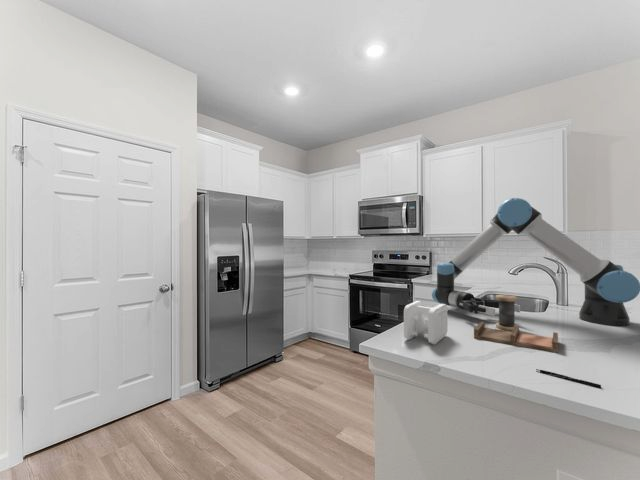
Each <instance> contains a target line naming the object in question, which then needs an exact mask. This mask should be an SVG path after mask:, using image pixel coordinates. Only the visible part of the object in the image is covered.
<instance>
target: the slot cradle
mask: <svg viewBox="0 0 640 480" xmlns="http://www.w3.org/2000/svg"><path fill="white" fill-rule="evenodd" d="M485 325H486V323H485V322H484V321H480V322H479V323H478V324H477V326H476V327H475V328H474V329H473V338H474V339H478V340H483V341H488V342H489V341H490V342H494V343H500V344H506V345H511V346H518V347H522V348H529V349H534V350H538V351H546V352H550V353H556V354H558V353H559V332H555V331H554V332H553V333H552V337H548V336H542V335H535V334H530V333H529V334H528V333H523V332H520V327H519V326H518V327H514V329H513V331H505V330H501V329H498V328H490V327H489V328H488V327H486V326H485Z"/></svg>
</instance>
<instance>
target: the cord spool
mask: <svg viewBox="0 0 640 480" xmlns="http://www.w3.org/2000/svg"><path fill="white" fill-rule="evenodd" d="M495 300H498V301H499V308H498V322H496V323H495V329H497V330H503V331H505V330H506V331H509V332H512V331H513V329H514V327H519V326H518V325H517V324H516V323H515V322H516V321H515V312H514V304H515V302H518V301H519V300H518V296H514V295H509V294H496V295H495Z"/></svg>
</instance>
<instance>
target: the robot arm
mask: <svg viewBox="0 0 640 480" xmlns="http://www.w3.org/2000/svg"><path fill="white" fill-rule="evenodd" d="M542 216H543V215H542V213H541V212H540V211H538V210H537V209H536V208H534V207H533V206H532V205H531V204H530V203H529V201H527V200H525V199H524V198H519V197H511V198H508V199H506V200H504V201H503V202H502V203H501V204H500V205H499V206H498V209H497V212H496V214H495V215H494V217H492V218H491V219H490V223H489V225H487V226H486V227H485V228H484V229H483V230H482V231H481V232H480V233H479V234H478V235H477V236H475V237H474V239H472V240H471V241H470V242H469V243H468V244H467V245H466V246H465V247H463V249H461V251H460V252H459V253H458V254H456V255H455V256H454V257H453V258H452V259H451V260H450V261H449V262H440V263H437V264H436V287H434V289H433V290H432V293H431V296H432V297H431V298H432V300H433V302H435V303H438V304H446V305H447V307H453V308H455V309H456V310H458V309H460V310H464V311H468V312H470V313H473V312H474V314H476V315H478V313H480V314H484V315H489V316H492V317H496V309H499V300H496V299H487V298H484V297H483V298H480V297H475V296H474V295H473V293H471V292H464V291H460V290H456V289H455V279H457V278H458V277H459V276H460V275H461V274H462V273H463V272H464V271H465V270H466V269H467V268H468V267H469V266H470V265H472V264H473V263H474V262H475V261H476V260H477V259H478V258H480V257H481V256H482V255H483V254H484V253H485V252H486V251H488V249H489V248H491V247H492V246H493V245H494V244H495V243H496V242H498V240H499V239H501V237H503V236H504V235H508V234H509V233H511V232H514V233H515V234H517V235H518V236H522V235H523V236H526V237H527V238H529V239H530V240H532V241H533V242H534V243H535V244H536V245H538V246H540V247H541V248H543V249H544V250H545V251H546V252H548V253H550V255H552V256H553V257H555V258H556V259H558V260H559V261H560V262H561V263H563V264H564V265H565V266H567V267H568V268H569V269H571V270H572V271H573V272H575V273H576V274H578V275H579V277H580V282H581V283H583V284H584V301H583V304H582V305H581V308H580V310H579V313H578V314H579V317H578V318H579V319H581V320H583V321H586V322H590V323H595V324H601V325H606V326H608V325H609V326H629V325H630V323H631V321H630V319H631V318H630V316H629V314H628V312H627V309H626V307H625V305H624V303H628V302H630V301H634V299H636V298H637V297H638V296H639V294H640V281H639V279H638V278H637V277H636V276H635V275H634V274H632V273H631V272H628V271H625V270H624V268H623V267H624V266H622V265H621V264H614V262H611V260H609V259H600V258H598V257H597V256H596V255H594V254H592V253H591V252H590V251H589V250H587V249H585V248H584V247H582V246H581V245H580V244H578V243H577V242H576V241H574V240H573V239H571V238H570V237H569V236H567V235H565V234H564V233H563V232H561V231H560V230H558V229H557V228H556V227H554V226H553V225H551V224H550V223H548V222H547V221H545V220H544V219H543V217H542ZM515 312H516V313H519V314H520V313H521V305H520V304H516V303H514V313H515Z"/></svg>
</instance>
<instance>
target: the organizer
mask: <svg viewBox="0 0 640 480" xmlns="http://www.w3.org/2000/svg"><path fill="white" fill-rule="evenodd" d="M449 308H450V306H448V305H446V304H440V303H438V304H437V305H436V306H434V307H430V306H424V303H423V301H422V300H416V301H414V302H413V301H412V302H411V303H408V304H406V305H405V306H404V309H403V337H404V339H407V340H408V341H410V340H412V339H413V338H414V337H415V338H417V336H418V335H420V334H423V335H424V336H423V337H424V339H426V338H427V339H428V343H429V344H431V345H437V344H438V343H439V342H440V341H441V340H443V339H444V338H445V337H446V336H447V334H448V330H449V329H448V311H449Z"/></svg>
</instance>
